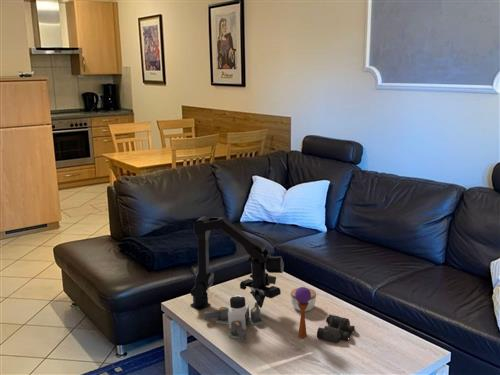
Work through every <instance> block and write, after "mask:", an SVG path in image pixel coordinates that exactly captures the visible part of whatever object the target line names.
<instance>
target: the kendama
mask: <svg viewBox="0 0 500 375" xmlns="http://www.w3.org/2000/svg"><path fill="white" fill-rule="evenodd" d="M297 288H298V289H297V290H296V292H295V297H296V300H297V301H298V302H297V303H298V306H299V308H300V310H301V311H300V317H299V319H300V320H299V321H300V322H299V328H298V335H297V336H298V338H299V339H306V338H308V336H307V334H308V333H307V325H306V316H305V312H306V311H305V309H306V308H307V306H308V304H309V303H308V301H309V300H310V298H311V292H310V290H309V289H310V288H309V289H307V288H308V287H305V286H300V287H297ZM304 311H305V312H304Z"/></svg>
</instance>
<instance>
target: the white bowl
mask: <svg viewBox="0 0 500 375" xmlns="http://www.w3.org/2000/svg"><path fill="white" fill-rule="evenodd" d="M298 288H299V287H297V288H294V289H292V290H291V291H290V297H291V304H292V307H293V308H294V309H295V310H296V311H299V312H301V310H300V308H299V306H298V303H297V302H298V301H297V300H296V297H295V292H296V290H297V289H298ZM306 288H307V289H309V290H310V292H311V298H310V300H309V301H308V303H309V304H308V306H307V308H306V309H305V311H304V313H305V312H309V311H311V310H312V309H313V308H314V307H315V306H316V299H317V298H316V297H317V292H316V291H315V290H314V289H313V288H309V287H306Z"/></svg>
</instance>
